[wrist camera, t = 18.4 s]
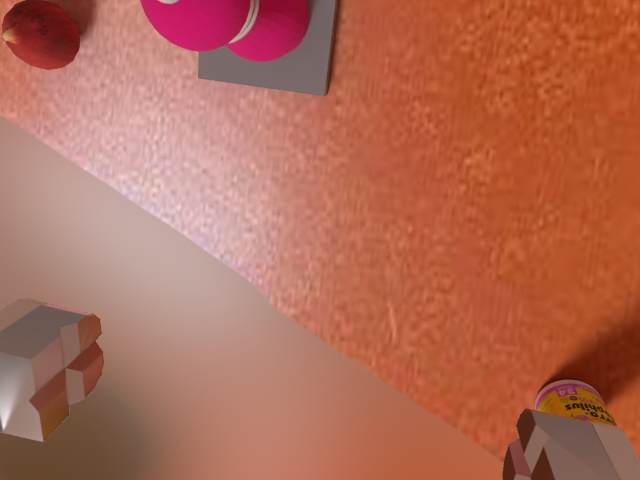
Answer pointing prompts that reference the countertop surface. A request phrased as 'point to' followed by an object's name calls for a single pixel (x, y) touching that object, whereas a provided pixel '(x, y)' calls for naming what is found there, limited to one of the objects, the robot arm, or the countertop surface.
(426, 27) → the countertop surface
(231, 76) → the silver flat square block
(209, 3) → the pepper mill
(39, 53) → the onion
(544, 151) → the countertop surface
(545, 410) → the supplement bottle
